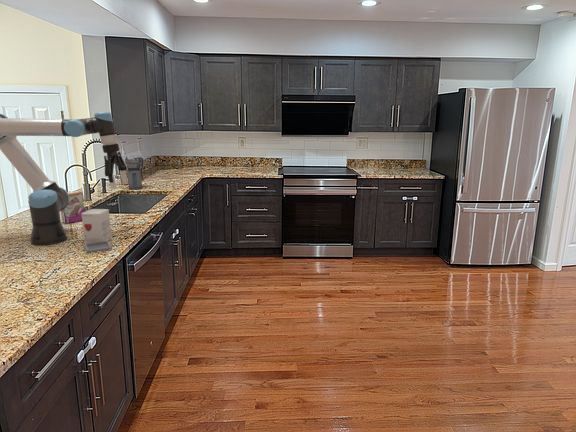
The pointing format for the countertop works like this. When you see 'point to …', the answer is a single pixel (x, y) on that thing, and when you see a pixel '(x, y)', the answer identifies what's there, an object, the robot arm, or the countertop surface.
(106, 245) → the slate coaster
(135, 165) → the gray tapered canister
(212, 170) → the countertop surface
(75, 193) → the candy bar box
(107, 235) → the supplement box
